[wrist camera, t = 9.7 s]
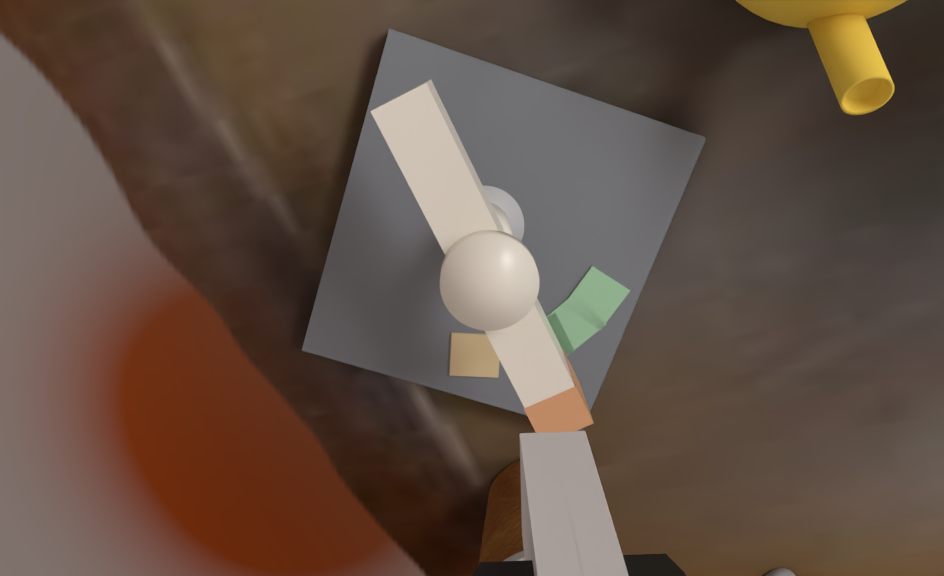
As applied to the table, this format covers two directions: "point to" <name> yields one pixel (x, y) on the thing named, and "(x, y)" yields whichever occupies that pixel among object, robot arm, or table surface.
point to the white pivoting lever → (482, 259)
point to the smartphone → (780, 572)
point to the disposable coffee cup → (503, 518)
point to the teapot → (840, 45)
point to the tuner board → (530, 217)
